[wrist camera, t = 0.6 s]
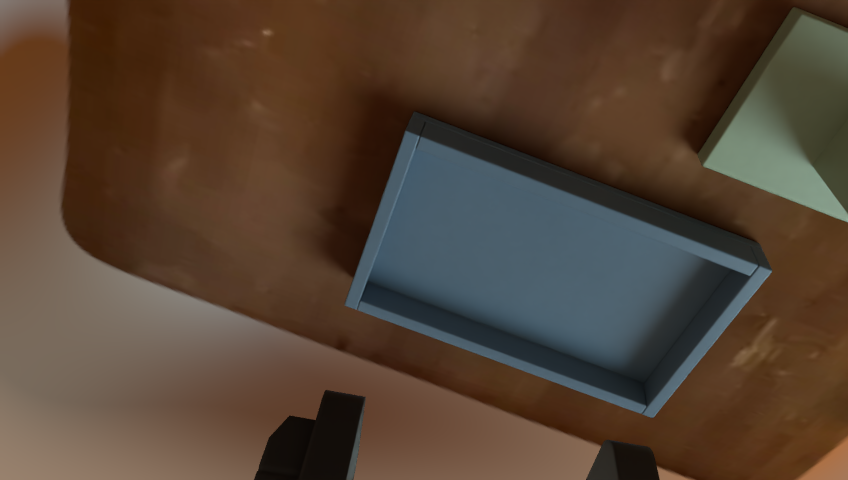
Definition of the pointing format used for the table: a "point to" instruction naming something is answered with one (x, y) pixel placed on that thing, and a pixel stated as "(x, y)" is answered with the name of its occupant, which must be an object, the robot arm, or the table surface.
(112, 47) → the table surface
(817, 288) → the table surface
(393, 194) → the tray
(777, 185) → the stand
